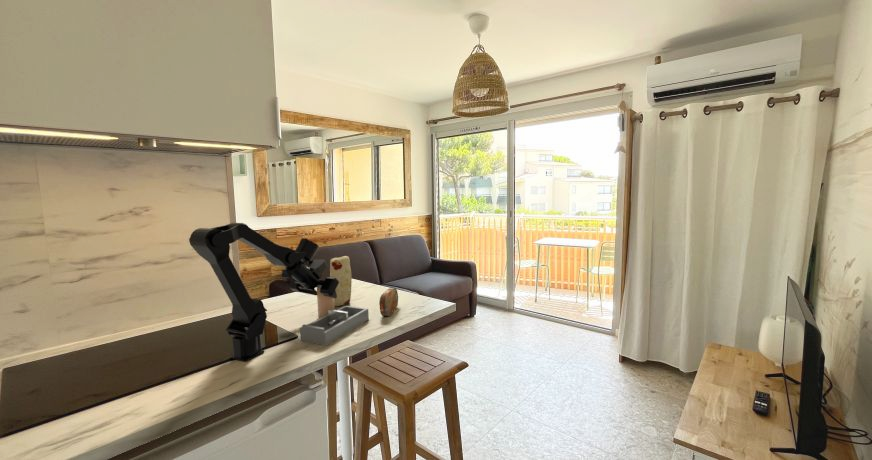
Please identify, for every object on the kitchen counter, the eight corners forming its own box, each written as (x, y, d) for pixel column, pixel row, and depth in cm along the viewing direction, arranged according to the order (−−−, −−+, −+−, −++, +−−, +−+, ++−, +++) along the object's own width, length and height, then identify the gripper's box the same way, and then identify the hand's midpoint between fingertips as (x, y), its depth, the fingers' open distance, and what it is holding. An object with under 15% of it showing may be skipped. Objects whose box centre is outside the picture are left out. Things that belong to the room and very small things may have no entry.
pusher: (339, 331, 118) (338, 317, 117) (321, 328, 121) (320, 314, 120) (348, 325, 122) (347, 311, 122) (330, 322, 125) (330, 309, 125)
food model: (338, 309, 143) (335, 259, 140) (327, 306, 146) (324, 257, 144) (356, 302, 151) (354, 255, 148) (345, 299, 154) (343, 253, 152)
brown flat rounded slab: (386, 319, 131) (385, 296, 130) (378, 319, 131) (377, 296, 130) (399, 305, 145) (398, 285, 144) (391, 305, 146) (391, 285, 145)
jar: (328, 321, 130) (326, 285, 128) (314, 318, 132) (312, 284, 131) (339, 315, 136) (337, 281, 134) (325, 313, 138) (323, 280, 137)
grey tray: (325, 345, 110) (325, 329, 109) (300, 340, 114) (299, 325, 113) (368, 319, 131) (368, 306, 130) (346, 315, 135) (345, 302, 134)
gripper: (333, 255, 123) (355, 279, 134) (293, 252, 131) (317, 274, 142) (318, 284, 116) (342, 306, 128) (277, 278, 124) (303, 300, 136)
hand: (326, 295), depth 133 cm, fingers open, 9 cm apart
